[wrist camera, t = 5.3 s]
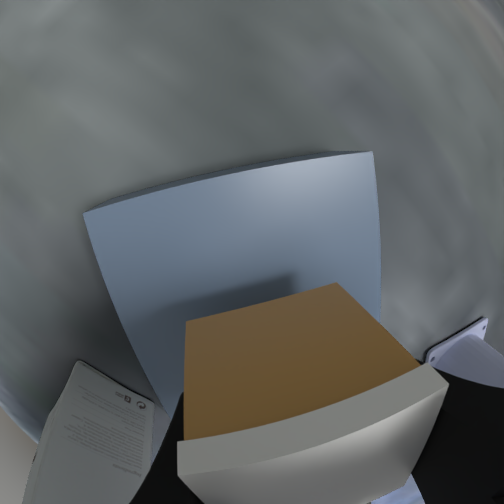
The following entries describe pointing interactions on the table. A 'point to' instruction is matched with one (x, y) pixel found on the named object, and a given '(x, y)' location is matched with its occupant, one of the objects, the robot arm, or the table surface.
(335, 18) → the table surface
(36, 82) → the table surface
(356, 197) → the box
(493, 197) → the table surface
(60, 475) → the skincare box
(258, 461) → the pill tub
